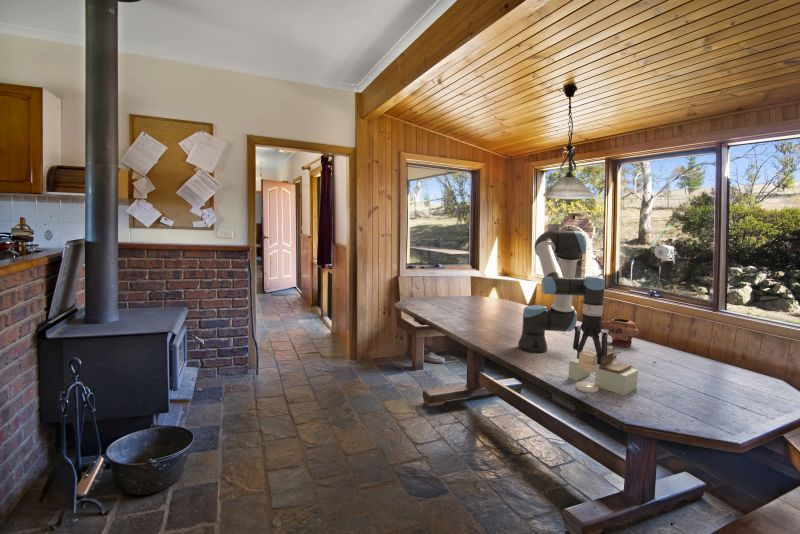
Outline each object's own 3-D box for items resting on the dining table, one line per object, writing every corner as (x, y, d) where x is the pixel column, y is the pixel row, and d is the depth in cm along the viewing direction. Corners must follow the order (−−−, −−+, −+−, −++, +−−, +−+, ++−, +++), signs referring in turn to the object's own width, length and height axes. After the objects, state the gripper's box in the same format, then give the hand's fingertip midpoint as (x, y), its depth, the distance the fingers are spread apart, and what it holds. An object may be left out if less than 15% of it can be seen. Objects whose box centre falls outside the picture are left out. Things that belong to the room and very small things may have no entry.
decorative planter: (596, 342, 256) (598, 318, 255) (602, 338, 266) (603, 315, 264) (635, 349, 244) (637, 324, 243) (639, 344, 254) (641, 320, 252)
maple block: (585, 366, 190) (586, 350, 189) (599, 370, 185) (600, 353, 184) (578, 369, 186) (579, 352, 185) (592, 373, 181) (593, 356, 181)
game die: (612, 369, 222) (623, 357, 216) (595, 362, 224) (605, 350, 217) (612, 356, 229) (623, 344, 222) (596, 349, 230) (606, 337, 224)
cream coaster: (571, 387, 187) (571, 384, 187) (581, 382, 193) (582, 380, 193) (592, 394, 180) (592, 391, 180) (602, 389, 186) (602, 386, 186)
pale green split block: (568, 378, 198) (569, 360, 197) (581, 372, 206) (583, 355, 205) (624, 395, 180) (625, 376, 179) (636, 388, 188) (638, 369, 187)
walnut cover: (596, 367, 188) (597, 355, 187) (609, 361, 196) (610, 350, 195) (618, 373, 181) (619, 361, 181) (631, 367, 189) (632, 355, 188)
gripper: (565, 311, 188) (562, 365, 190) (611, 319, 173) (607, 377, 176) (574, 309, 192) (571, 361, 195) (620, 317, 178) (615, 373, 181)
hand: (588, 369), depth 185 cm, fingers closed on maple block, 6 cm apart
